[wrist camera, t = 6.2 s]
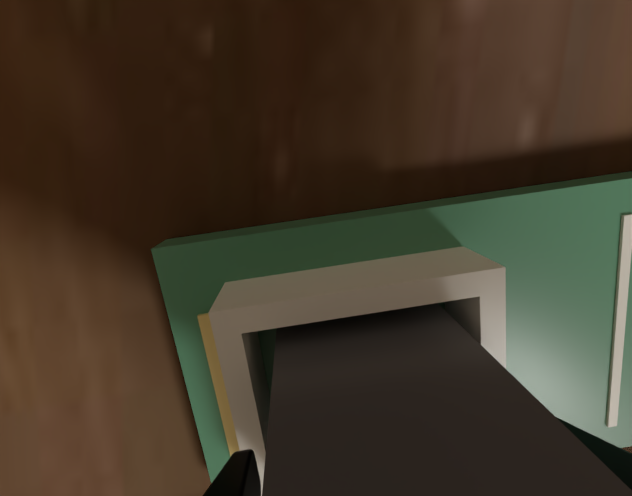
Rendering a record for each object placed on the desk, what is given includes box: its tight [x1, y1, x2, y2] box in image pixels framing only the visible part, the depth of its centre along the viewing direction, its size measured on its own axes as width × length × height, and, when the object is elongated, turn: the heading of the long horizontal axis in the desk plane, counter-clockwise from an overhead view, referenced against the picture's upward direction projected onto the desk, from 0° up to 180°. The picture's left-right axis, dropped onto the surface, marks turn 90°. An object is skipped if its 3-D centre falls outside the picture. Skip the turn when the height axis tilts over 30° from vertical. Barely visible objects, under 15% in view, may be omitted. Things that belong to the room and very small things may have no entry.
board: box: [151, 171, 632, 496], centre depth 10 cm, size 20×9×3 cm, turn 98°
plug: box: [262, 303, 632, 496], centre depth 7 cm, size 4×4×7 cm
